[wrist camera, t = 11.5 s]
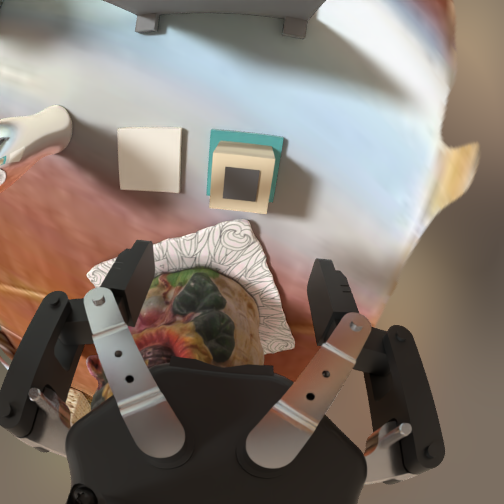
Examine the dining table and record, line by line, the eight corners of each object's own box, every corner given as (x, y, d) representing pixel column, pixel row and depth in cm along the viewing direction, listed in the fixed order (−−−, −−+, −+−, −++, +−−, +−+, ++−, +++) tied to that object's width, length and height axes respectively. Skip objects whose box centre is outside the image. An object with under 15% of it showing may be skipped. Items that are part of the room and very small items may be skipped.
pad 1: (119, 127, 24) (117, 128, 24) (182, 127, 25) (180, 128, 24) (122, 187, 28) (120, 189, 28) (180, 190, 29) (178, 193, 28)
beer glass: (81, 107, 23) (-20, 145, 10) (70, 162, 26) (-16, 225, 14) (41, 97, 21) (-55, 131, 9) (32, 149, 25) (-52, 201, 12)
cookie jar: (298, 341, 43) (315, 538, 17) (168, 362, 48) (140, 522, 21) (248, 207, 30) (236, 590, 4) (87, 262, 35) (-12, 467, 8)
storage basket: (41, 386, 67) (29, 419, 55) (24, 363, 58) (8, 399, 46) (97, 409, 70) (86, 445, 58) (84, 389, 61) (70, 431, 49)
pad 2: (211, 129, 25) (211, 129, 25) (283, 136, 25) (283, 137, 25) (207, 193, 29) (206, 195, 28) (272, 200, 29) (272, 202, 29)
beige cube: (220, 140, 25) (212, 153, 21) (271, 146, 25) (275, 159, 21) (216, 188, 28) (208, 210, 24) (264, 193, 28) (266, 216, 24)
